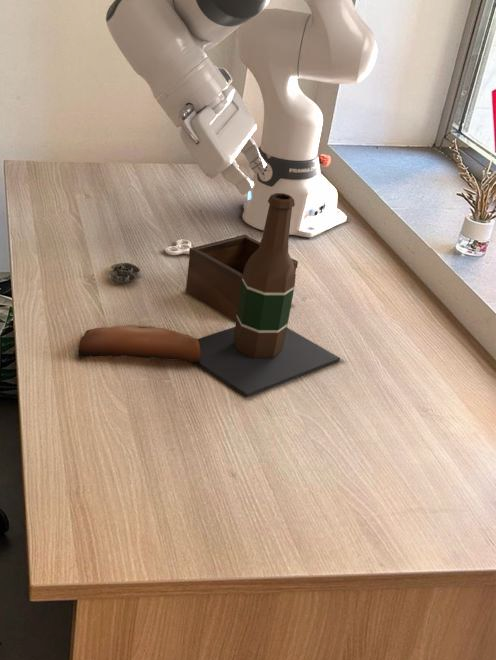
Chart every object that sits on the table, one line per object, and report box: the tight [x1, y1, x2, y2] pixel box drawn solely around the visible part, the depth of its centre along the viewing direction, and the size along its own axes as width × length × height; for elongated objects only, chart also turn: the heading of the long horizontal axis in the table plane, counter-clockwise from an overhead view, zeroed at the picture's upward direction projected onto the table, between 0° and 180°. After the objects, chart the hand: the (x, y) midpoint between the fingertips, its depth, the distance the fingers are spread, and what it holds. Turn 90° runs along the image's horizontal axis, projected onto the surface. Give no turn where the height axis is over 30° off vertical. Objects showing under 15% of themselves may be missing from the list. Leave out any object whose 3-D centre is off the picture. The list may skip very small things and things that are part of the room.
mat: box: [192, 326, 341, 398], centre depth 145 cm, size 20×16×1 cm
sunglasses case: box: [77, 324, 201, 364], centre depth 141 cm, size 18×7×7 cm
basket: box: [185, 234, 299, 323], centre depth 159 cm, size 13×13×8 cm
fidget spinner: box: [164, 239, 194, 256], centre depth 175 cm, size 7×6×1 cm
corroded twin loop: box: [108, 262, 141, 286], centre depth 163 cm, size 5×8×1 cm, turn 173°
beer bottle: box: [234, 193, 296, 358], centre depth 139 cm, size 8×8×24 cm
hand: (255, 180), depth 132 cm, fingers open, 8 cm apart
